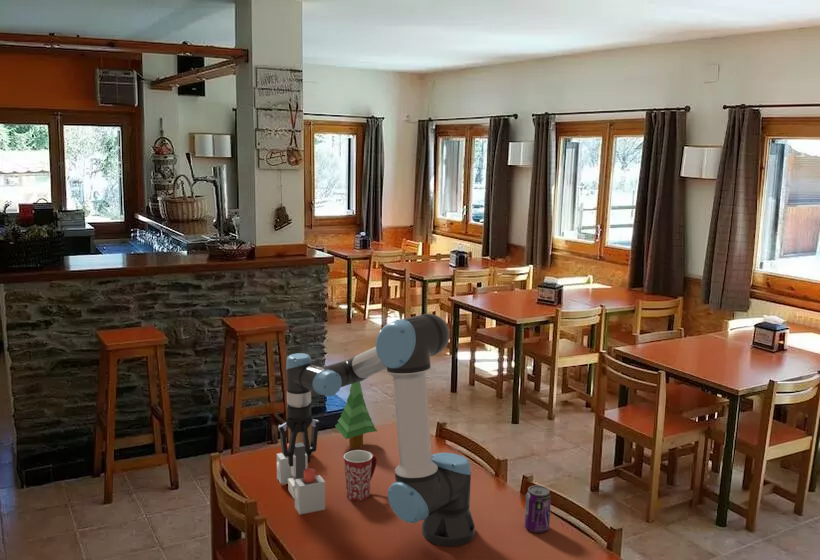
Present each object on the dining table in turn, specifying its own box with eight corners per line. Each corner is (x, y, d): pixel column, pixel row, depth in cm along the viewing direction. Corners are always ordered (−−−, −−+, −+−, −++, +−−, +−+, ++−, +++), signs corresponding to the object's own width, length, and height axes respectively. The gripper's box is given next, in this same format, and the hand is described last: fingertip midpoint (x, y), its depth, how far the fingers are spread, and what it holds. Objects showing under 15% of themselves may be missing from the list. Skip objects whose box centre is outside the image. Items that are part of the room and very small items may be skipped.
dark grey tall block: (311, 495, 231) (311, 446, 228) (293, 498, 229) (292, 450, 226) (305, 487, 237) (305, 439, 234) (287, 490, 234) (287, 442, 231)
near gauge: (317, 481, 221) (317, 472, 220) (305, 483, 219) (305, 474, 219) (313, 476, 224) (313, 467, 223) (302, 478, 222) (302, 469, 222)
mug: (358, 505, 225) (358, 464, 223) (337, 496, 231) (337, 456, 229) (385, 491, 235) (386, 452, 232) (365, 482, 241) (365, 444, 238)
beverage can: (543, 537, 209) (545, 498, 207) (520, 530, 213) (522, 491, 211) (552, 526, 215) (554, 488, 213) (530, 519, 219) (532, 482, 217)
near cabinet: (325, 509, 223) (325, 481, 221) (298, 514, 219) (298, 486, 218) (319, 502, 227) (319, 474, 225) (294, 507, 224) (293, 479, 222)
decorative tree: (382, 441, 274) (383, 364, 269) (362, 457, 260) (363, 376, 255) (350, 435, 280) (350, 359, 274) (329, 450, 266) (329, 370, 260)
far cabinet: (304, 481, 241) (304, 455, 239) (280, 485, 237) (280, 459, 236) (300, 475, 245) (300, 449, 244) (276, 479, 242) (275, 453, 240)
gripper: (319, 396, 234) (320, 465, 238) (270, 402, 227) (271, 473, 231) (327, 403, 227) (327, 474, 232) (276, 410, 221) (277, 483, 225)
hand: (299, 473), depth 232 cm, fingers closed on dark grey tall block, 3 cm apart
